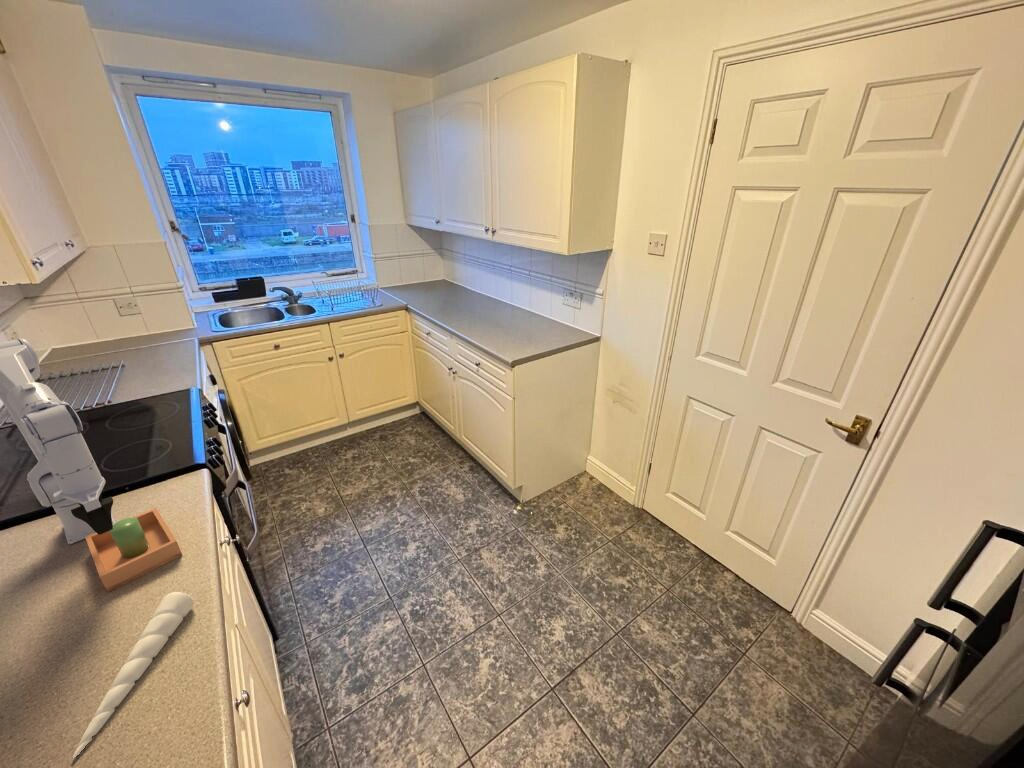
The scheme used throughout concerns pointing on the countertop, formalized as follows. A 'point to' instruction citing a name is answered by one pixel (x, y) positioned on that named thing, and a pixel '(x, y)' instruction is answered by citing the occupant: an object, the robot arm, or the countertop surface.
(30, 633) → the countertop surface
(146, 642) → the unicorn horn
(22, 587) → the countertop surface
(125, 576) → the terracotta bin
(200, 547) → the countertop surface
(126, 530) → the cucumber piece
